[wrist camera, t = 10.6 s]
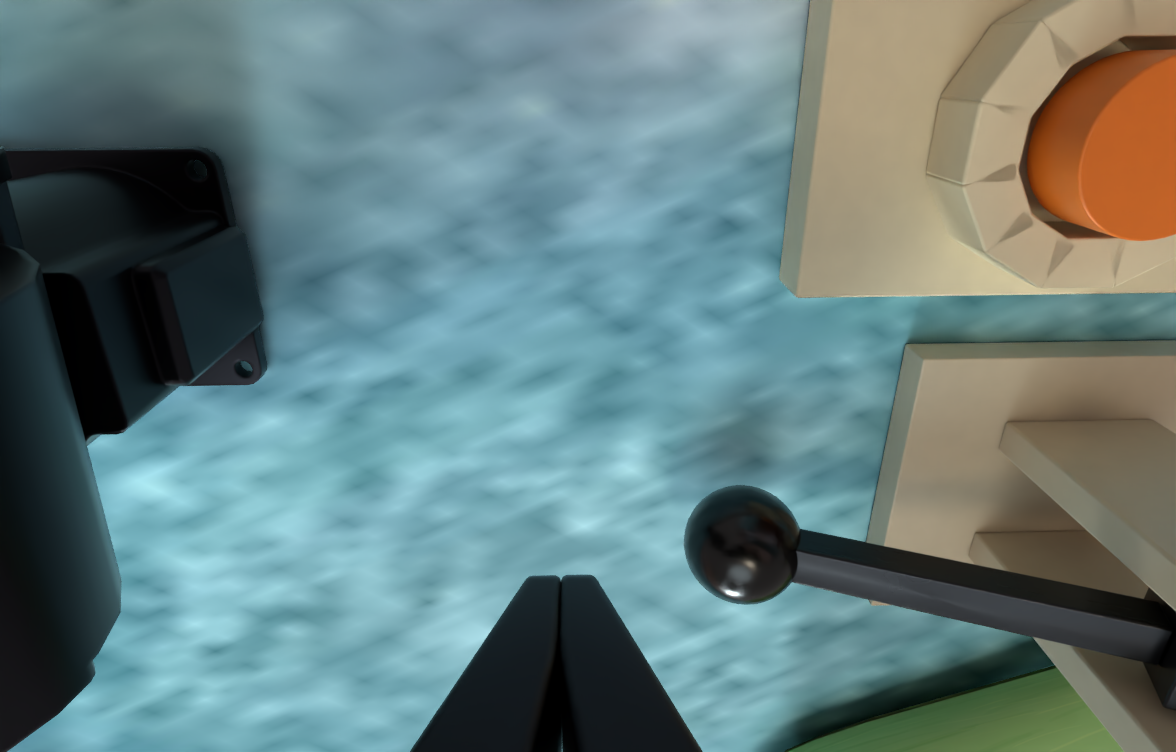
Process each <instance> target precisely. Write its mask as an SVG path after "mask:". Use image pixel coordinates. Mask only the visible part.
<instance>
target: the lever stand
mask: <svg viewBox="0 0 1176 752" xmlns="http://www.w3.org/2000/svg"><path fill="white" fill-rule="evenodd" d="M866 542H867V543H872V544H877V545H882V546H887V547H892V548H897V549H901V550H906V551H911V552H916V553H921V554H926V555H931V556H936V557H941V558H946V559H951V560H956V561H961V562H966V563H970V564H975V565H980V566H985V567H990V568H995V569H1000V570H1005V571H1010V572H1015V573H1020V574H1025V575H1030V576H1034V577H1039V578H1044V579H1049V580H1054V581H1059V582H1064V583H1069V584H1074V585H1079V586H1084V587H1089V588H1094V589H1098V590H1103V591H1108V592H1113V593H1118V594H1123V595H1128V596H1133V597H1138V598H1143V599H1144V597H1145V595H1146V592H1147V590H1148V588H1149V587H1150V588H1151V589H1152V590H1153V591H1154V592H1155V593H1156V594H1157V595H1158V596H1159V597H1161V598H1162V599H1163V600H1164V601H1165V602H1166V603H1167V604H1168V605H1169V606H1170V607H1171V608H1173V609H1174V610H1175V611H1176V340H1155V341H1086V342H1017V343H948V344H906V345H905V350H904V355H903V360H902V365H901V370H900V375H899V380H898V385H897V390H896V395H895V400H894V405H893V410H892V415H891V420H890V425H889V430H888V435H887V440H886V445H885V450H884V455H883V460H882V465H881V470H880V475H879V480H878V485H877V490H876V495H875V500H874V505H873V510H872V515H871V520H870V525H869V530H868V535H867V540H866ZM869 602H870V604H871V605H890V604H885V603H881V602H877V601H872V600H869ZM1033 638H1034V639H1035V641H1036V642H1037V643H1038V644H1039V646H1040V647H1041V648H1042V649H1043V651H1044V652H1045V653H1046V654H1047V656H1048V657H1049V658H1050V659H1051V661H1052V662H1053V663H1054V664H1055V666H1056V667H1057V668H1058V669H1059V671H1060V672H1061V673H1062V674H1063V676H1064V677H1065V678H1066V679H1067V681H1068V682H1069V683H1070V684H1071V686H1072V687H1073V688H1074V689H1075V691H1076V692H1077V693H1078V694H1079V696H1080V697H1081V698H1082V699H1083V701H1084V702H1085V703H1086V704H1087V706H1088V707H1089V708H1090V709H1091V711H1092V712H1093V713H1094V715H1095V716H1096V717H1097V718H1098V720H1099V721H1100V722H1101V723H1102V725H1103V726H1104V727H1105V728H1106V730H1107V731H1108V732H1109V733H1110V735H1111V736H1112V737H1113V738H1114V740H1115V741H1116V742H1117V743H1118V745H1119V746H1120V747H1121V748H1122V750H1123V751H1124V752H1176V711H1175V710H1171V709H1167V708H1165V707H1163V706H1162V704H1161V702H1160V699H1159V697H1158V695H1157V693H1156V690H1155V688H1154V686H1153V684H1152V682H1151V679H1150V677H1149V675H1148V673H1147V671H1146V668H1145V666H1144V664H1143V662H1140V661H1136V660H1131V659H1127V658H1123V657H1118V656H1114V655H1109V654H1105V653H1101V652H1096V651H1092V650H1087V649H1083V648H1079V647H1074V646H1070V645H1065V644H1061V643H1057V642H1052V641H1048V640H1043V639H1039V638H1035V637H1033Z"/></svg>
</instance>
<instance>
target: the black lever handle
mask: <svg viewBox="0 0 1176 752" xmlns="http://www.w3.org/2000/svg"><path fill="white" fill-rule="evenodd" d="M684 548H685V554H686V559H687V562H688V564H689V567H690V569H691V571H692V573H693V574H694V576H695V577H696V579H697V580H698V581H699V583H700V584H701V585H702V586H703V587H704V588H705V589H706V590H708V591H709V592H710V593H712V594H713V595H715V596H716V597H718V598H720V599H723V600H725V601H728V602H731V603H736V604H744V605H748V604H758V603H762V602H765V601H768V600H770V599H772V598H774V597H776V596H777V595H779V594H780V593H782V592H783V591H784V590H785V589H786V588H787V587H788V586H789V585H790V584H791V583H792V582H793V583H798V584H802V585H806V586H811V587H815V588H820V589H824V590H828V591H833V592H837V593H842V594H846V595H850V596H855V597H859V598H863V599H868V600H872V601H877V602H881V603H885V604H890V605H894V606H899V607H903V608H907V609H912V610H916V611H921V612H925V613H929V614H934V615H938V616H943V617H947V618H951V619H956V620H960V621H964V622H969V623H973V624H978V625H982V626H986V627H991V628H995V629H1000V630H1004V631H1008V632H1013V633H1017V634H1022V635H1026V636H1030V637H1035V638H1039V639H1043V640H1048V641H1052V642H1057V643H1061V644H1065V645H1070V646H1074V647H1079V648H1083V649H1087V650H1092V651H1096V652H1101V653H1105V654H1109V655H1114V656H1118V657H1123V658H1127V659H1131V660H1136V661H1140V662H1143V664H1144V666H1145V668H1146V671H1147V673H1148V675H1149V677H1150V679H1151V682H1152V684H1153V686H1154V688H1155V690H1156V693H1157V695H1158V697H1159V699H1160V702H1161V704H1162V706H1163V707H1165V708H1167V709H1171V710H1175V711H1176V611H1175V610H1174V609H1173V608H1171V607H1170V606H1169V605H1168V604H1167V603H1166V602H1165V601H1164V600H1163V599H1162V598H1161V597H1159V596H1158V595H1157V594H1156V593H1155V592H1154V591H1153V590H1152V589H1151V588H1150V587H1149V588H1148V590H1147V592H1146V595H1145V597H1144V599H1143V598H1138V597H1133V596H1128V595H1123V594H1118V593H1113V592H1108V591H1103V590H1098V589H1094V588H1089V587H1084V586H1079V585H1074V584H1069V583H1064V582H1059V581H1054V580H1049V579H1044V578H1039V577H1034V576H1030V575H1025V574H1020V573H1015V572H1010V571H1005V570H1000V569H995V568H990V567H985V566H980V565H975V564H970V563H966V562H961V561H956V560H951V559H946V558H941V557H936V556H931V555H926V554H921V553H916V552H911V551H906V550H901V549H897V548H892V547H887V546H882V545H877V544H872V543H867V542H862V541H857V540H852V539H847V538H842V537H837V536H833V535H828V534H823V533H818V532H813V531H808V530H803V529H800V528H799V526H798V523H797V521H796V519H795V517H794V516H793V514H792V512H791V511H790V510H789V509H788V507H787V506H786V505H785V504H784V503H783V502H782V501H781V500H780V499H778V498H777V497H776V496H774V495H772V494H771V493H769V492H767V491H765V490H762V489H760V488H756V487H752V486H745V485H735V486H729V487H725V488H722V489H719V490H716V491H714V492H712V493H711V494H709V495H708V496H707V497H705V498H704V499H703V500H702V501H701V502H700V503H699V504H698V505H697V506H696V507H695V509H694V510H693V512H692V514H691V516H690V517H689V519H688V522H687V525H686V529H685V535H684Z"/></svg>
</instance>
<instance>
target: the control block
mask: <svg viewBox="0 0 1176 752" xmlns="http://www.w3.org/2000/svg"><path fill="white" fill-rule="evenodd" d="M1135 50H1176V0H810V8H809V17H808V26H807V35H806V44H805V53H804V61H803V70H802V79H801V88H800V97H799V106H798V115H797V124H796V133H795V141H794V150H793V159H792V168H791V177H790V186H789V195H788V204H787V213H786V222H785V230H784V239H783V248H782V257H781V266H780V275H779V279H780V281H781V282H782V283H783V284H784V285H785V286H786V287H787V288H788V289H789V290H790V291H791V292H792V293H793V294H794V295H795V296H796V297H798V298H814V297H889V296H964V295H1039V294H1113V293H1176V234H1175V235H1172V236H1169V237H1166V238H1161V239H1156V240H1149V241H1130V240H1125V239H1120V238H1117V237H1113V236H1110V235H1107V234H1104V233H1101V232H1098V231H1095V230H1092V229H1089V228H1086V227H1083V226H1080V225H1077V224H1073V223H1070V222H1067V221H1065V220H1062V219H1059V218H1057V217H1056V216H1054V215H1052V214H1051V213H1049V212H1048V211H1047V210H1046V209H1045V208H1044V207H1043V206H1042V205H1041V204H1040V203H1039V202H1038V200H1037V198H1036V197H1035V195H1034V193H1033V191H1032V188H1031V186H1030V183H1029V178H1028V173H1027V153H1028V148H1029V142H1030V139H1031V136H1032V133H1033V130H1034V127H1035V125H1036V123H1037V121H1038V119H1039V117H1040V115H1041V113H1042V111H1043V110H1044V108H1045V107H1046V105H1047V104H1048V102H1049V101H1050V100H1051V98H1052V97H1053V96H1054V95H1055V93H1056V92H1057V91H1058V90H1059V89H1060V88H1061V87H1062V86H1063V85H1064V84H1065V83H1066V82H1067V81H1068V80H1069V79H1070V78H1072V77H1073V76H1074V75H1075V74H1077V73H1078V72H1079V71H1081V70H1082V69H1084V68H1085V67H1087V66H1089V65H1090V64H1092V63H1094V62H1096V61H1098V60H1100V59H1102V58H1104V57H1107V56H1110V55H1113V54H1116V53H1121V52H1125V51H1135Z"/></svg>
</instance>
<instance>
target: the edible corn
mask: <svg viewBox="0 0 1176 752" xmlns="http://www.w3.org/2000/svg"><path fill="white" fill-rule="evenodd" d="M785 752H1124V751H1123V750H1122V748H1121V747H1120V746H1119V745H1118V743H1117V742H1116V741H1115V740H1114V738H1113V737H1112V736H1111V735H1110V733H1109V732H1108V731H1107V730H1106V728H1105V727H1104V726H1103V725H1102V723H1101V722H1100V721H1099V720H1098V718H1097V717H1096V716H1095V715H1094V713H1093V712H1092V711H1091V709H1090V708H1089V707H1088V706H1087V704H1086V703H1085V702H1084V701H1083V699H1082V698H1081V697H1080V696H1079V694H1078V693H1077V692H1076V691H1075V689H1074V688H1073V687H1072V686H1071V684H1070V683H1069V682H1068V681H1067V679H1066V678H1065V677H1064V676H1063V674H1062V673H1061V672H1060V671H1059V669H1058V668H1057V667H1056V666H1055V665H1054V666H1050V667H1047V668H1043V669H1040V670H1037V671H1033V672H1030V673H1026V674H1023V675H1019V676H1016V677H1012V678H1009V679H1005V680H1002V681H998V682H995V683H992V684H988V685H985V686H981V687H978V688H974V689H971V690H967V691H964V692H960V693H957V694H953V695H950V696H946V697H943V698H939V699H936V700H932V701H929V702H925V703H922V704H918V705H915V706H911V707H908V708H904V709H901V710H897V711H894V712H890V713H887V714H883V715H880V716H876V717H873V718H870V719H867V720H864V721H861V722H859V723H856V724H853V725H850V726H847V727H844V728H841V729H838V730H836V731H833V732H830V733H827V734H824V735H821V736H818V737H816V738H814V739H811V740H809V741H806V742H804V743H802V744H799V745H797V746H795V747H792V748H790V749H787V750H786V751H785Z"/></svg>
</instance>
